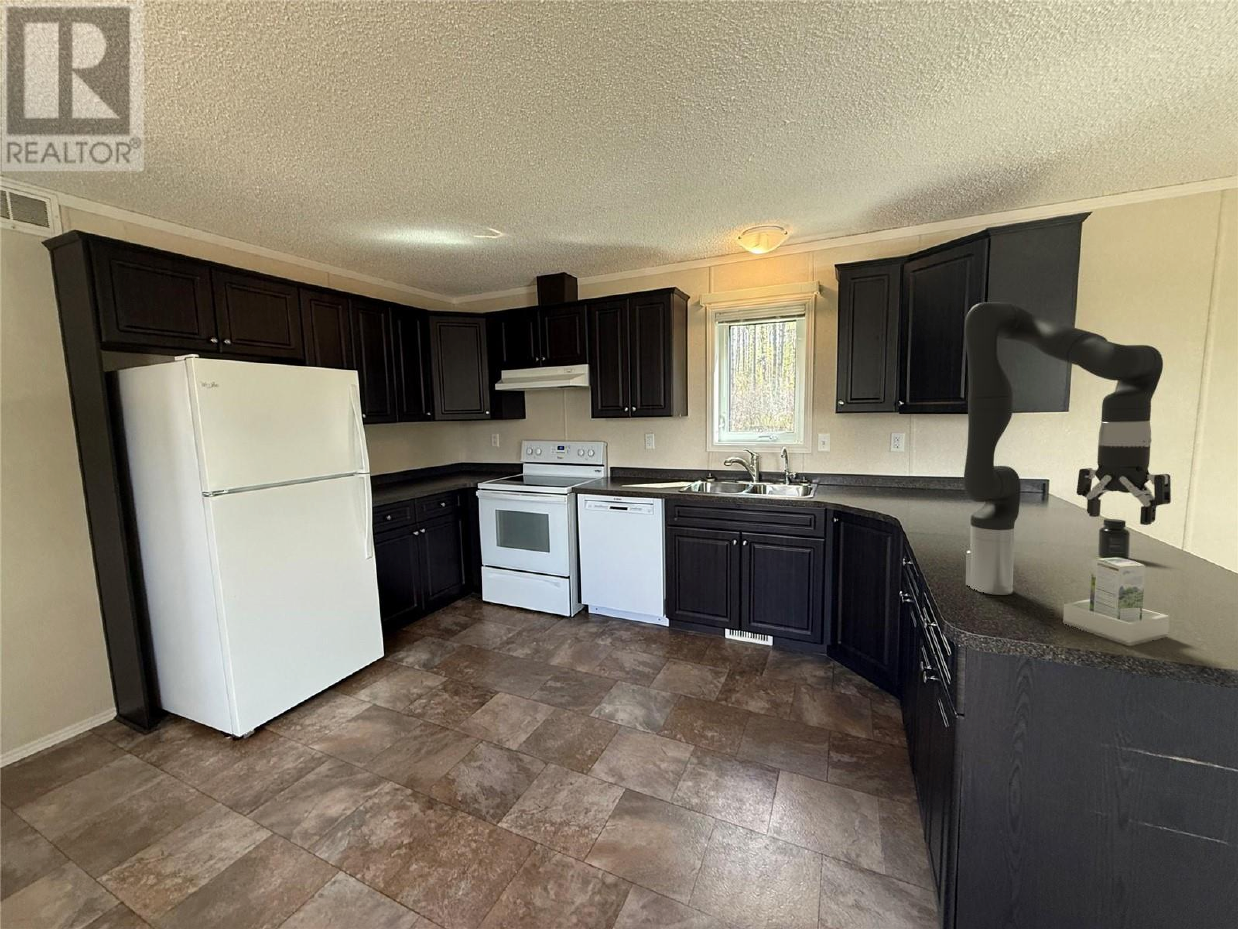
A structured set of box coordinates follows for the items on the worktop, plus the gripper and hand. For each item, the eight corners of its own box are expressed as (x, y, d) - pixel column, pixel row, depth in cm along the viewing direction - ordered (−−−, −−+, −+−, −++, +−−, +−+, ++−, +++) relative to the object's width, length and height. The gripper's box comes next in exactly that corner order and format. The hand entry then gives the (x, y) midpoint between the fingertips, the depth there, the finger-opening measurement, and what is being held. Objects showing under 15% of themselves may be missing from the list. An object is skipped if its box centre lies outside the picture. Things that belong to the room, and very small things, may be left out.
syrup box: (1112, 620, 107) (1115, 556, 106) (1142, 631, 101) (1146, 563, 100) (1088, 622, 107) (1090, 557, 105) (1117, 633, 101) (1120, 565, 100)
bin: (1063, 623, 108) (1063, 604, 108) (1099, 616, 111) (1100, 597, 111) (1129, 646, 97) (1131, 624, 97) (1167, 637, 100) (1169, 615, 100)
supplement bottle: (1133, 559, 150) (1135, 520, 149) (1121, 562, 148) (1123, 523, 147) (1105, 553, 156) (1106, 517, 155) (1092, 556, 154) (1094, 519, 153)
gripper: (1070, 443, 106) (1067, 515, 108) (1157, 445, 93) (1152, 529, 94) (1094, 441, 108) (1090, 512, 110) (1183, 443, 95) (1177, 525, 96)
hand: (1119, 520), depth 102 cm, fingers open, 8 cm apart
